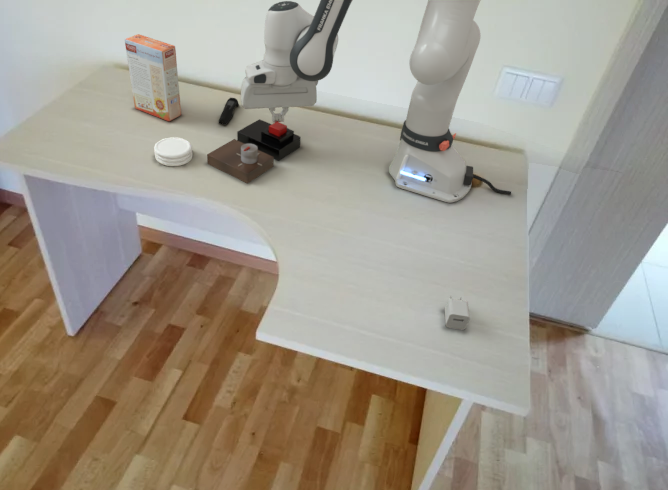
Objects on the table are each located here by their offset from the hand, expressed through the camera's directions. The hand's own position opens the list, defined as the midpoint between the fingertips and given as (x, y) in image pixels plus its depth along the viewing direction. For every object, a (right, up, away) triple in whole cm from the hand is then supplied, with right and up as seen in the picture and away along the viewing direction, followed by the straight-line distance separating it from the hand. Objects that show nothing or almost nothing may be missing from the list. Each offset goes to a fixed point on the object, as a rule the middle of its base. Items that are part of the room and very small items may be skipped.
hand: (277, 121), depth 146 cm
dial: (-7, -12, -5) cm, 15 cm away
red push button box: (-3, -5, +7) cm, 9 cm away
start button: (0, -3, +2) cm, 3 cm away
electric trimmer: (-16, +7, +18) cm, 25 cm away
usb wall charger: (+37, -51, -37) cm, 73 cm away
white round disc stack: (-28, -10, -1) cm, 30 cm away
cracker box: (-37, +8, +17) cm, 42 cm away
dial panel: (-10, -12, -2) cm, 16 cm away
